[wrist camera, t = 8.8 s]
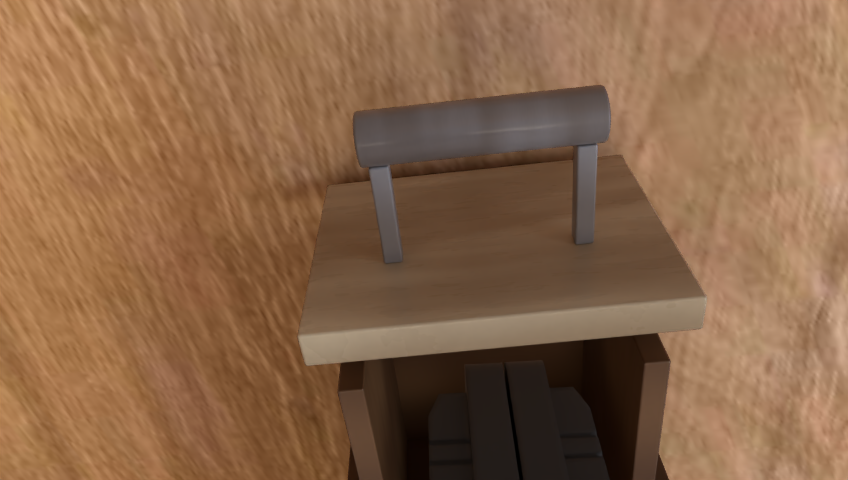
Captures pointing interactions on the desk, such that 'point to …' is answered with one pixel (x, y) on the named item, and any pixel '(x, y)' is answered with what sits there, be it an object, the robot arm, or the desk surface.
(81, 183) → the desk surface
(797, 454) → the desk surface
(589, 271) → the drawer
